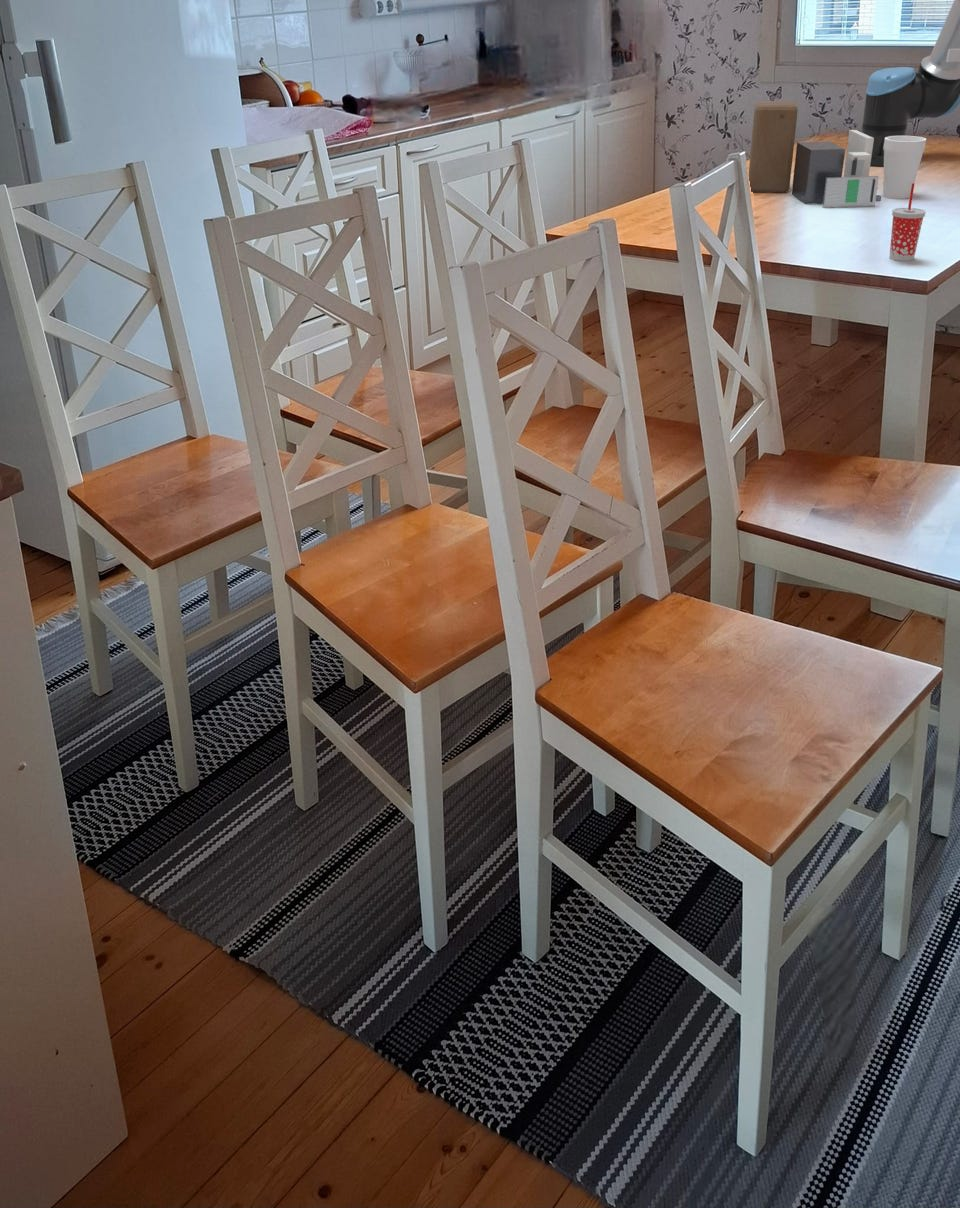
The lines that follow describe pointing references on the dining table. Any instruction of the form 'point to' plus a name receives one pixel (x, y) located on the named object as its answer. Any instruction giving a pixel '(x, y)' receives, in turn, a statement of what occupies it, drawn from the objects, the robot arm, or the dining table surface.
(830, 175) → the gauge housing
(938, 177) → the dining table surface
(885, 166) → the foam cup
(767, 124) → the wooden block
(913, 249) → the beverage cup
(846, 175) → the gauge slider
